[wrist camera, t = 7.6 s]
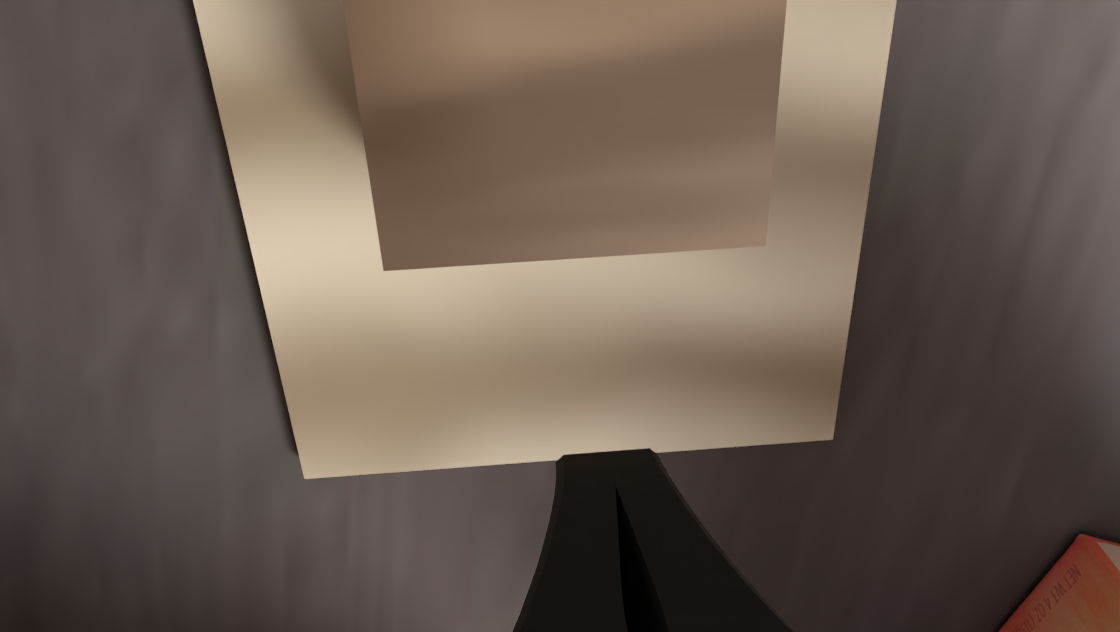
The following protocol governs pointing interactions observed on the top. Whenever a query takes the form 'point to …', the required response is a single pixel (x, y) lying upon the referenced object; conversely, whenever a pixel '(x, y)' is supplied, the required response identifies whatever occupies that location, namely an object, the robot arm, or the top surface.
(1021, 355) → the top surface
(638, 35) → the beige rectangular block
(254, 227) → the board
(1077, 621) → the cracker box
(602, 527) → the robot arm
